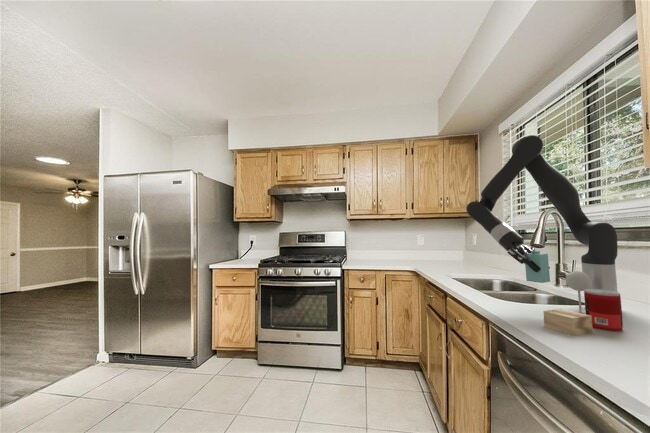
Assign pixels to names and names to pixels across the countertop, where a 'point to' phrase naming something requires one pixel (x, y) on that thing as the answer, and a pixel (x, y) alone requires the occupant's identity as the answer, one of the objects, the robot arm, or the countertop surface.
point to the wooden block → (568, 321)
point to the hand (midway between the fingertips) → (543, 270)
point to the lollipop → (578, 283)
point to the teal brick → (542, 262)
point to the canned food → (604, 309)
